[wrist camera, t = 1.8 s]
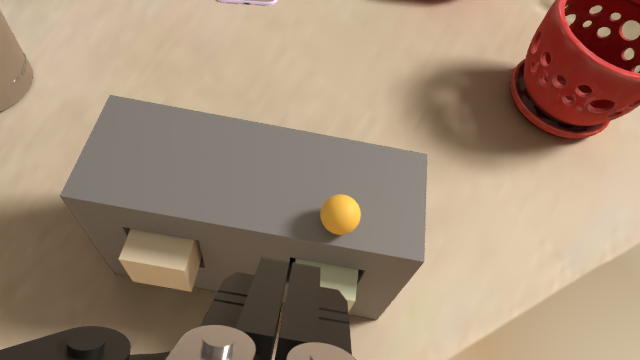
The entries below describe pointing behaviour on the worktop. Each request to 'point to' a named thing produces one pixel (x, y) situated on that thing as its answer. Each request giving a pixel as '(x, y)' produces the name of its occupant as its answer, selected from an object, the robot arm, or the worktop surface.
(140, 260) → the block
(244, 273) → the robot arm
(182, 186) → the keypad console
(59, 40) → the worktop surface
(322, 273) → the key sage
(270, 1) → the mobile phone
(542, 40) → the plant pot
